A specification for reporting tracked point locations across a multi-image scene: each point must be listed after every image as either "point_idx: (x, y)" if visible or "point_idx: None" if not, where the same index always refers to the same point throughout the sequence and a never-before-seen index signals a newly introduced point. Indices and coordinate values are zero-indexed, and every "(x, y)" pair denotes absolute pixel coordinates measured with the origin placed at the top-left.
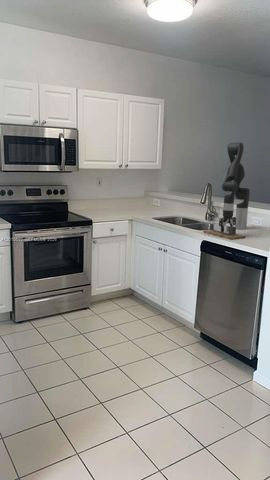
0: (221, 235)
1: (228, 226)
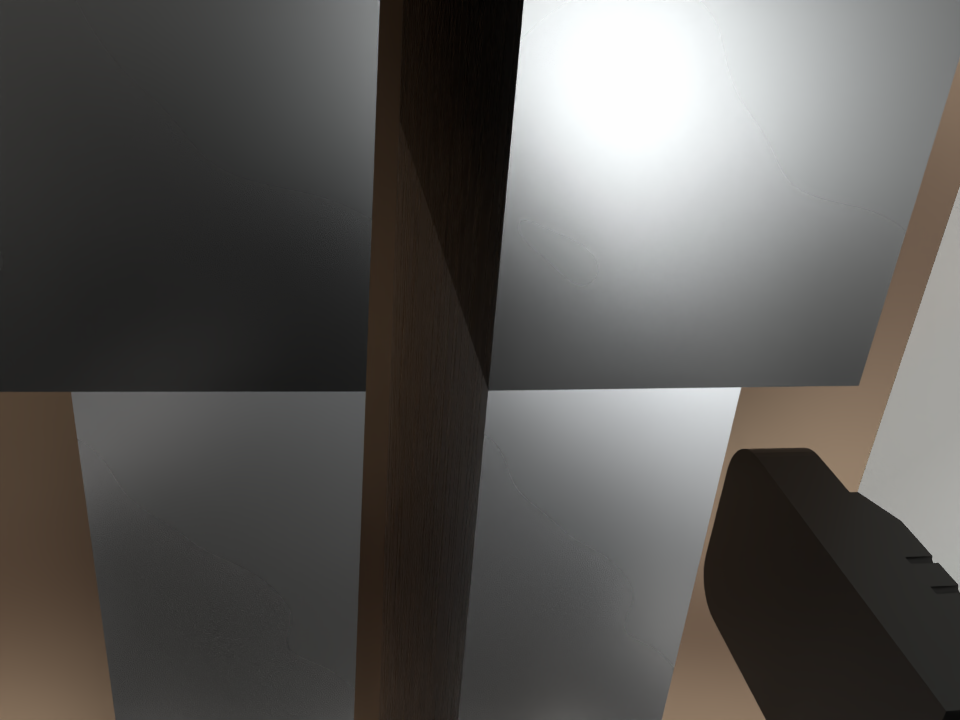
0: (924, 264)
1: (580, 660)
